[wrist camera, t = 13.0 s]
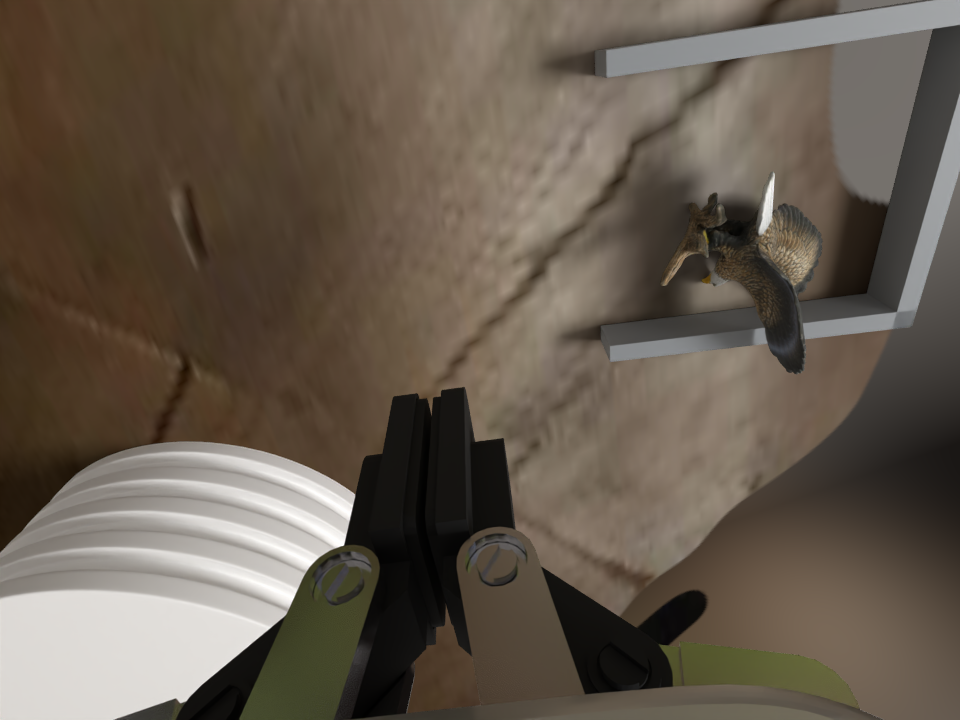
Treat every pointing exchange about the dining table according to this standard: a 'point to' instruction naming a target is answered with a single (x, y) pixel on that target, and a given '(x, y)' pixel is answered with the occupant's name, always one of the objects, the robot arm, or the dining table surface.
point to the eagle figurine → (760, 264)
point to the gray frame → (915, 197)
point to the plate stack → (155, 575)
